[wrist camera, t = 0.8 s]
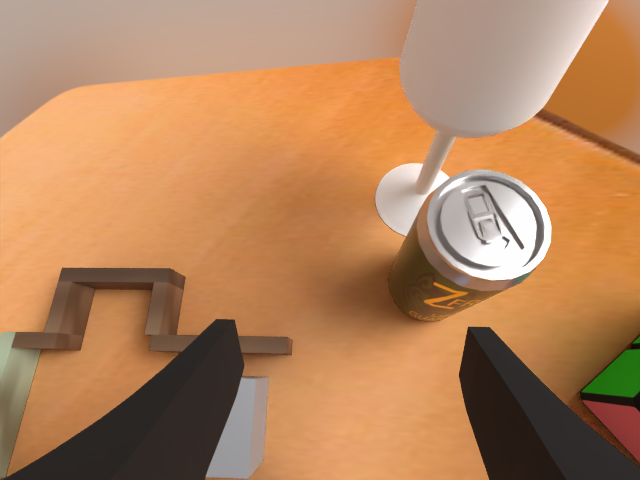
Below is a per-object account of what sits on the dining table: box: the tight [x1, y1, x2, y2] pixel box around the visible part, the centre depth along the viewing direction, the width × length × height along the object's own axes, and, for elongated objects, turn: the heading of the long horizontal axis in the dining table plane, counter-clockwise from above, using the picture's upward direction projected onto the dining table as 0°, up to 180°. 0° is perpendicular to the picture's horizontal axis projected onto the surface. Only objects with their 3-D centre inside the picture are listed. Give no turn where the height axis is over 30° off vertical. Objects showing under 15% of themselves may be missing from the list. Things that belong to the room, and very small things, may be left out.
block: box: [206, 376, 269, 479], centre depth 22 cm, size 5×5×4 cm
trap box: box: [0, 268, 292, 480], centre depth 23 cm, size 19×20×2 cm
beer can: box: [388, 169, 551, 322], centre depth 20 cm, size 5×5×12 cm
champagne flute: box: [375, 0, 609, 236], centre depth 17 cm, size 7×7×24 cm
